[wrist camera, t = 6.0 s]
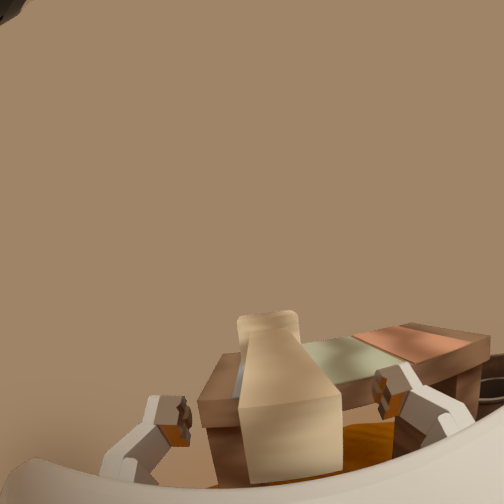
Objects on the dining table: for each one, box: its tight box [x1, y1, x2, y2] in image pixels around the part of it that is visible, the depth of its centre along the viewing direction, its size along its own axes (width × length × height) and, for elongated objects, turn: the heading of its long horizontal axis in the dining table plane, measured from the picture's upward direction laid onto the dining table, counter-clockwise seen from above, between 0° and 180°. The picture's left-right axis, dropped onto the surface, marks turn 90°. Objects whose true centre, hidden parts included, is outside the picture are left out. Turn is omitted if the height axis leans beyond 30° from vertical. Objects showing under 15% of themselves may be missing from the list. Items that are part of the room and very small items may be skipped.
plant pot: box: [476, 354, 504, 422], centre depth 24 cm, size 16×16×16 cm
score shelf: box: [197, 323, 490, 489], centre depth 21 cm, size 22×14×26 cm, turn 89°
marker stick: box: [237, 310, 343, 484], centre depth 18 cm, size 5×21×4 cm, turn 179°
